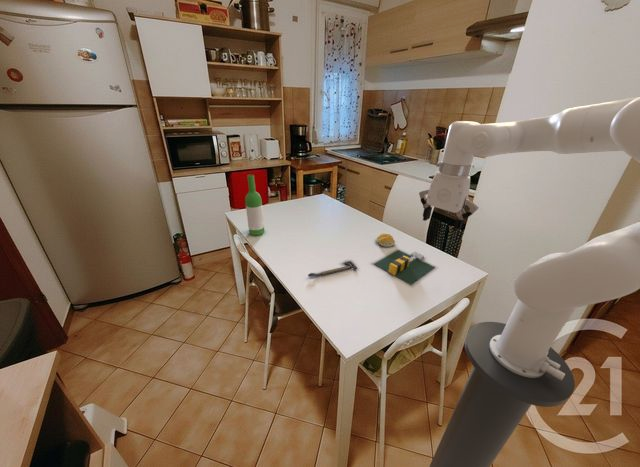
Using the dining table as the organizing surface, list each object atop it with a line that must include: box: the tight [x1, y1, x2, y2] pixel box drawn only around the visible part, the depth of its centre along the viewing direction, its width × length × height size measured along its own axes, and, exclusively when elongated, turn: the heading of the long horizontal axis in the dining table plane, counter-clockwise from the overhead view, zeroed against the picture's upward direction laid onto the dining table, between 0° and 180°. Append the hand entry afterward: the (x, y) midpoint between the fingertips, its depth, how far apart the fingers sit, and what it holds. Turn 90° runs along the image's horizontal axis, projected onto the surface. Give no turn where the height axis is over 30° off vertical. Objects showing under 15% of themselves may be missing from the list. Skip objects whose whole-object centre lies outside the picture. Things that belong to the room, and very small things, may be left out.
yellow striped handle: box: [387, 251, 425, 276], centre depth 110 cm, size 4×21×4 cm, turn 131°
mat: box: [373, 249, 435, 286], centre depth 111 cm, size 18×18×1 cm
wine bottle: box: [244, 174, 265, 236], centre depth 128 cm, size 8×8×30 cm
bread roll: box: [376, 233, 396, 248], centre depth 127 cm, size 8×9×4 cm
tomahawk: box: [307, 260, 358, 277], centre depth 107 cm, size 21×7×1 cm, turn 110°
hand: (440, 224), depth 81 cm, fingers open, 9 cm apart
